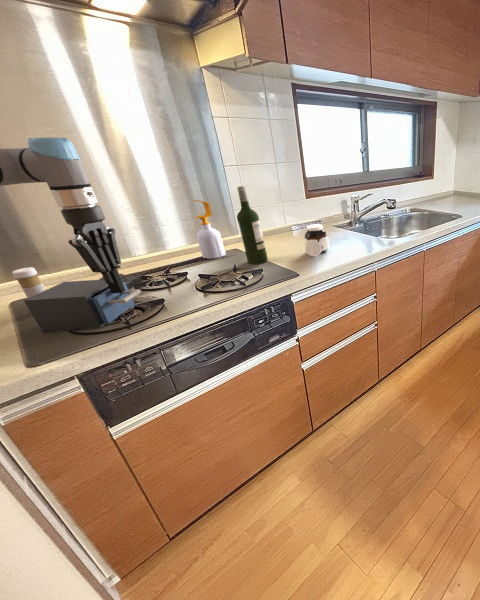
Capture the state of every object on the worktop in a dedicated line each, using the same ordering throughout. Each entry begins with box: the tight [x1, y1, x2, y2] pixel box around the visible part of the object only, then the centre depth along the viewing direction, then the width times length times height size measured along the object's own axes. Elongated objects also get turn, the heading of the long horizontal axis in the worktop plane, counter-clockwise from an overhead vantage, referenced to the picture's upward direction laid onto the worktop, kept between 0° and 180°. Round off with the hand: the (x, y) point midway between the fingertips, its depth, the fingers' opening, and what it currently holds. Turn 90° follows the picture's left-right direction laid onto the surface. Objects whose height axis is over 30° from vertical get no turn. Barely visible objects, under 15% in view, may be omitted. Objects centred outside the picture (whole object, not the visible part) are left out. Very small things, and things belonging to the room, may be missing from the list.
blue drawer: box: [88, 282, 142, 325], centre depth 92 cm, size 18×11×8 cm, turn 96°
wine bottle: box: [236, 185, 268, 265], centre depth 130 cm, size 8×8×30 cm
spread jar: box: [303, 223, 330, 257], centre depth 143 cm, size 12×11×12 cm
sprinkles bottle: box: [11, 266, 47, 299], centre depth 96 cm, size 5×5×14 cm
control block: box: [98, 273, 143, 291], centre depth 113 cm, size 12×10×4 cm
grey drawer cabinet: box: [23, 279, 108, 333], centre depth 91 cm, size 15×13×10 cm
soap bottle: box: [192, 199, 226, 260], centre depth 139 cm, size 9×9×25 cm
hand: (118, 292), depth 91 cm, fingers closed
